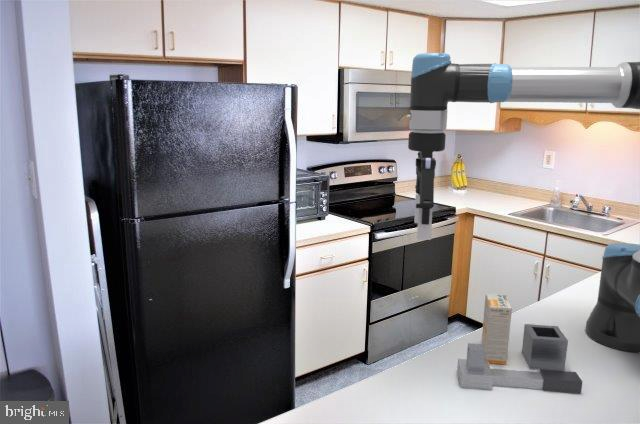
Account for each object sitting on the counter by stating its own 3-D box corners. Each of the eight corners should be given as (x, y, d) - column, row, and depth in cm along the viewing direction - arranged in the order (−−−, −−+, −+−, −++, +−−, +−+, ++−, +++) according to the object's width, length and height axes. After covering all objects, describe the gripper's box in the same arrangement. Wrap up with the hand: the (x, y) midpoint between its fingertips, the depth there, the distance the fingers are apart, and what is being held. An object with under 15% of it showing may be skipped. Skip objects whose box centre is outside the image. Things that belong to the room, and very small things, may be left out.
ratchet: (572, 380, 105) (576, 347, 103) (583, 397, 99) (587, 362, 97) (456, 371, 108) (459, 339, 106) (460, 387, 102) (463, 353, 100)
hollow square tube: (554, 355, 115) (557, 326, 114) (564, 371, 108) (568, 340, 107) (521, 352, 116) (524, 324, 114) (529, 368, 109) (533, 338, 108)
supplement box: (507, 365, 111) (513, 308, 108) (484, 363, 112) (489, 306, 109) (502, 347, 118) (507, 294, 116) (480, 345, 119) (485, 292, 117)
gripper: (407, 127, 119) (403, 216, 124) (411, 135, 95) (405, 246, 100) (440, 127, 118) (435, 217, 123) (452, 136, 94) (445, 247, 99)
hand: (421, 230), depth 111 cm, fingers open, 13 cm apart
